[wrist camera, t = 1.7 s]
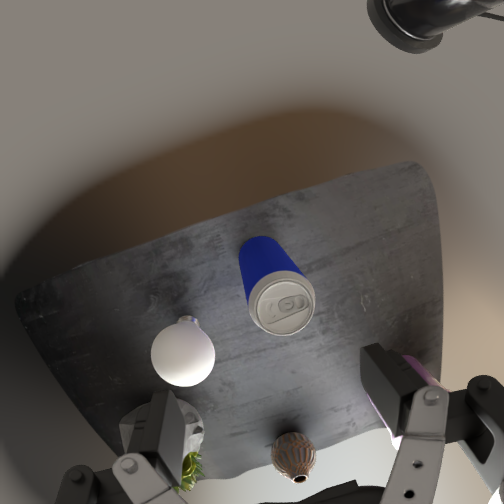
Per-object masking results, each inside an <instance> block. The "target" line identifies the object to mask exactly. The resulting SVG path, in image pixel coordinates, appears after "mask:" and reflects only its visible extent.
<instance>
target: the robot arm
mask: <svg viewBox="0 0 504 504" xmlns="http://www.w3.org/2000/svg"><path fill="white" fill-rule="evenodd" d="M502 4H504V0H382V5H383V9H384V12H385V14H386V16H387V17H388V19H389V20H390V22H391V23H392V24H393V25H394V26H395V27H396V28H397V29H398V30H399V31H400V32H402V33H403V34H404V35H406V36H408V37H410V38H412V39H414V40H417V41H428V40H431V39H433V38H434V37H436V36H437V35H439V34H441V33H443V32H445V31H447V30H448V29H451V28H453V27H455V26H457V25H459V24H461V23H463V22H465V21H467V20H469V19H471V18H473V17H475V16H482V17H487V18H492V19H496V20H500V21H504V17H503V16H499V15H495V14H490V13H486V11H488V10H490V9H493V8H495V7H497V6H499V5H502ZM360 373H361V381H362V385H363V387H364V389H365V391H366V392H367V394H368V395H369V397H370V399H371V400H372V402H373V403H374V405H375V406H376V408H377V410H378V411H379V413H380V414H381V416H382V417H383V419H384V421H385V422H386V424H387V425H388V427H389V429H390V430H391V432H392V433H393V435H394V436H395V438H397V437H399V436H402V435H403V436H402V439H401V443H400V446H399V449H398V453H397V456H396V459H395V463H394V465H393V468H392V471H391V474H390V477H389V480H388V482H387V485H386V488H385V487H380V486H358V484H357V482H356V480H352V481H349V482H346V483H343V484H340V485H336V486H333V487H330V488H326V489H324V490H323V491H320V492H318V493H316V494H315V495H312V496H310V497H308V498H306V499H304V500H302V501H299V502H294V503H293V502H288V503H268V502H265V503H259V504H432V503H433V499H434V495H435V491H436V486H437V482H438V478H439V473H440V468H441V463H442V458H443V452H444V446H445V444H447V443H452V442H458V444H459V445H460V447H461V448H462V450H463V451H464V453H465V454H466V455H467V457H468V458H469V460H470V461H471V463H472V464H473V466H474V467H475V469H476V470H477V472H478V474H479V475H480V477H481V478H482V479H483V481H484V483H485V484H486V486H487V487H488V489H489V490H490V492H491V494H492V495H493V496H492V497H491V499H490V501H489V504H504V387H503V386H502V385H501V384H500V383H499V382H498V381H497V380H496V379H495V378H493V377H491V376H487V375H479V376H476V377H474V378H472V379H471V380H470V381H469V383H468V386H467V389H463V390H459V391H454V392H447V391H446V390H445V389H444V388H442V387H439V386H434V385H429V384H428V383H427V382H426V381H425V380H424V379H423V378H422V377H421V376H420V374H419V373H418V372H417V371H416V370H415V369H414V368H412V366H411V365H410V364H409V363H408V362H407V360H406V359H405V358H404V357H403V356H402V355H401V354H399V353H397V352H395V351H393V350H389V351H385V350H384V349H383V348H382V347H381V346H380V344H379V343H374V344H371V345H368V346H365V347H361V348H360ZM135 421H136V423H135V424H134V427H133V428H134V430H133V431H132V435H131V438H130V442H129V446H128V449H127V453H126V454H124V455H122V456H120V457H119V458H118V459H117V460H116V461H115V462H114V464H113V467H112V468H110V469H107V470H103V471H99V472H93V471H92V469H91V468H89V467H88V466H85V465H77V466H74V467H72V468H70V469H69V470H68V471H67V472H66V473H65V475H64V476H63V479H62V482H61V486H60V489H59V492H58V495H57V498H56V502H55V504H188V503H187V502H186V501H185V500H184V499H183V498H182V497H181V496H180V495H179V494H178V493H177V492H176V491H175V490H174V489H173V488H172V487H179V486H181V474H182V462H183V450H184V439H185V428H186V427H185V420H184V416H183V414H182V412H181V409H180V407H179V405H178V403H177V400H176V398H175V396H174V393H173V392H172V390H163V391H155V392H153V395H152V398H151V402H150V404H144V405H143V407H142V408H141V409H140V410H139V411H138V413H137V417H136V420H135Z"/></svg>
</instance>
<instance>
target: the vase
mask: <svg viewBox="0 0 504 504" xmlns="http://www.w3.org/2000/svg"><path fill="white" fill-rule="evenodd" d="M271 460H272V463H273V466H274V467H275V469H276V470H277V471H278V472H279V473H280V474H281V475H283V476H284V477H286V478H288V479H290V480H291V481H292V482H293V483H303V482H305V481H306V480H307V479H308V476H309V473H310V472H311V470H312V469H313V467H314V465H315V462H316V451H315V448H314V445H313V443H312V442H311V441H310V439H309V438H307V437H306V436H305V435H303V434H300V433H295V432H290V433H286V434H283V435H282V436H280V437H279V438H278V439H277V440H276V441H275V442H274V444H273V446H272V449H271Z"/></svg>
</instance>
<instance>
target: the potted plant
mask: <svg viewBox="0 0 504 504" xmlns="http://www.w3.org/2000/svg"><path fill="white" fill-rule="evenodd" d="M175 398H176V397H175ZM176 400H177V403H178V405H179V407H180V409H181V412H182V414H183V416H184V420H185V427H186V428H185V439H184V450H183V462H182V474H181V486H179V488H181V489H182V490H183V491H186V490H185V489H187V490H189V491H190V488H189V487H191V488H192V486H193V485H194V482H195V483H196V482H197V481H196V478H195V476H199V475H198V474H201V475H203V476H204V474H203V473H202V472H201V471H200V469H201V468H200V467H199V466H201V467H202V465H201V464H200V463H199V462H198V461H197V460H196V459H195V458H198V459H202V458H200V456H201V455H199V454H198V451H199V449H200V443H201V442H203V435H204V433H205V432H204V430H203V422H202V419H201V417H200V415H199V413H198V412H197V410H196V408H194V407H193V406H191V405H190V404H189V403H187V402H185V401H183V400H181V399H178V398H176ZM147 404H150V402H149V403H147ZM142 407H143V405H142V406H139V407H137V408H136V409H134V410H133V411H131V412H130V413H128V414H127V415H125V416H124V417H122V419H121V421H120V423H119V427H120V433H121V438H122V443H123V447H124V451H125V454H126V453H127V449H128V446H129V442H130V438H131V435H132V431H133V430H134V428H133V427H134V424H135V423H136V421H135V420H136V417H137V413H138V411H139V410H140V409H141V408H142ZM199 468H200V469H199ZM201 470H202V469H201ZM202 471H203V470H202ZM197 473H198V474H197ZM194 475H195V476H194ZM204 477H205V476H204ZM172 488H173V489H174V490H175V491H176V492H177V493H178V494H179V488H178V487H172Z"/></svg>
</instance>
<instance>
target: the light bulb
mask: <svg viewBox="0 0 504 504" xmlns="http://www.w3.org/2000/svg"><path fill="white" fill-rule="evenodd" d="M151 359H152V363H153V366H154V368H155V370H156V372H157V373H158V374H159V376H160V377H161V378H162V379H164V380H165V381H167V382H168V383H170V384H173V385H176V386H192V385H195V384H197V383H199V382H201V381H203V380H204V379H205V378H206V377H207V376H208V375H209V373H210V372H211V370H212V368H213V365H214V360H215V351H214V347H213V344H212V342H211V340H210V338H209V337H208V336H207V334H206V333H205V332H203V331H202V330H201V329H200V323H199V321H198V320H197V319H196V318H195V317H193V316H189V315H187V316H183V317H181V318H179V319H178V321H177V323H176V324H173V325H171V326H168V327H167V328H165V329H163V330H162V331H161V332H160V333H159V334H158V335H157V337H156V338H155V340H154V342H153V344H152V349H151Z"/></svg>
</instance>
